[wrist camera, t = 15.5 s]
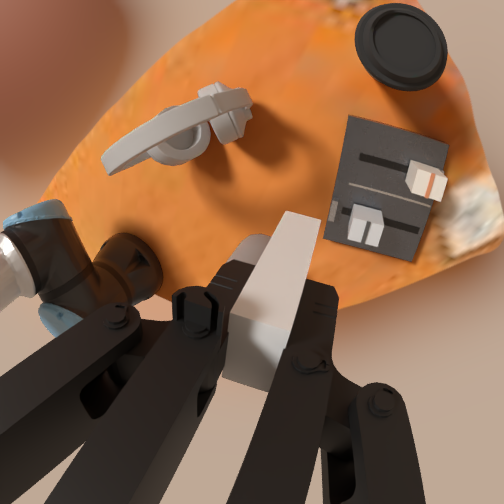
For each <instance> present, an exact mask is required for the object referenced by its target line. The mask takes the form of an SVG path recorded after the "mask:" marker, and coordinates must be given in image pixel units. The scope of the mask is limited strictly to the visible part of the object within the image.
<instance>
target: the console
mask: <svg viewBox="0 0 504 504" xmlns="http://www.w3.org/2000/svg"><path fill="white" fill-rule="evenodd" d="M448 148H449V145H448V144H446V143H445V142H442V141H439V140H436V139H433V138H430V137H427V136H424V135H421V134H418V133H415V132H412V131H408V130H405V129H402V128H398V127H395V126H392V125H388V124H384V123H381V122H377V121H373V120H369V119H365V118H361V117H357V116H353V115H348V121H347V127H346V132H345V138H344V143H343V148H342V153H341V158H340V163H339V168H338V173H337V178H336V183H335V187H334V192H333V197H332V201H331V206H330V210H329V215H328V219H327V223H326V227H325V232H324V236H323V239H327V240H331V241H335V242H339V243H343V244H347V245H351V246H354V247H358V248H362V249H366V250H370V251H374V252H377V253H381V254H385V255H389V256H392V257H396V258H400V259H403V260H407V261H411V262H412V259H413V257H414V254H415V252H416V249H417V247H418V244H419V241H420V239H421V236H422V233H423V230H424V228H425V225H426V222H427V219H428V216H429V213H430V210H431V207H432V204H433V201H434V200H433V199H430V198H425V197H424V196H421V195H417V194H414V193H411V191H410V189H409V187H408V185H407V184H406V182H405V180H406V176H407V172H408V168H409V164H410V160H413V161H417V162H420V163H423V164H426V165H429V166H432V167H435V168H438V169H439V170H440V171H441V172H442V173H443V174H444V171H443V167H444V164H445V160H446V156H447V152H448ZM354 204H357V205H361V206H365V207H369V208H372V209H376V210H380V211H382V217H383V222H384V228H383V231H382V234H381V238H380V241H379V244H378V247H375V246H372V245H368V244H361V243H360V242H356V241H353V240H349V239H348V226H349V220H350V216H351V212H352V208H353V205H354Z"/></svg>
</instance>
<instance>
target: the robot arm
mask: <svg viewBox="0 0 504 504" xmlns="http://www.w3.org/2000/svg"><path fill="white" fill-rule="evenodd" d="M72 221H73V220H72V218H71V217H70V216H69V214H68V212H67V210H66V208H65V206H64V204H63V203H62V202H61V201H60V200H57V199H51V200H47V201H44V202H41V203H38V204H36V205H33V206H31V207H28V208H26V209H24V210H22V211H21V212H18V213H16V214H14V215H12V216H10V217H8V218H7V219H5V220H4V221H3V229H4V231H3V232H1V233H0V312H1V311H2V310H3V309H4V308H5V307H7V306H8V305H9V304H10V303H11V302H12V301H14V300H15V299H16V298H18V297H19V296H25V297H29V298H32V297H34V296H35V295H36V294H37V293H38V295H39V296H40V298H41V300H42V301H43V303H42V304H41V305H40V308H39V310H38V313H39V316H40V319H41V321H42V323H43V324H44V325H45V327H46V328H47V329H48V330H49V331H50V333H51V334H52V335H53V336H55V339H53V340H52V341H50V342H49V343H47V344H46V345H45V346H43V347H42V348H40V349H39V350H38V351H36V352H34V353H33V354H32V355H30V356H29V357H27V358H26V359H25V360H23V361H22V362H20V363H19V364H17V365H16V366H15V367H13V368H12V369H10V370H9V371H8V372H6V373H5V374H4V375H2V376H1V377H0V504H11V503H12V502H14V501H15V500H16V499H17V498H19V497H20V496H21V495H22V494H23V493H25V492H26V491H27V490H28V489H30V488H31V487H32V486H33V485H34V484H36V483H37V482H38V481H39V480H41V479H42V478H43V477H44V476H45V475H46V474H48V473H49V472H50V471H51V470H53V469H54V468H55V467H56V466H57V465H58V464H60V463H61V462H62V461H63V460H64V459H66V458H67V457H68V456H69V455H70V454H72V453H73V452H74V451H75V450H76V449H77V448H78V447H80V446H81V445H82V444H83V443H84V442H85V441H86V442H85V443H84V445H83V446H82V448H81V449H80V451H79V452H78V454H77V455H76V456H75V458H74V459H73V461H72V462H71V464H70V465H69V467H68V468H67V470H66V471H65V473H64V474H63V476H62V477H61V479H60V480H59V482H58V483H57V485H56V486H55V488H54V489H53V491H52V492H51V494H50V495H49V497H48V498H47V500H46V501H45V503H44V504H159V503H160V501H161V499H162V497H163V495H164V493H165V491H166V490H167V488H168V485H169V484H170V482H171V480H172V478H173V476H174V474H175V472H176V470H177V468H178V466H179V464H180V462H181V460H182V458H183V456H184V454H185V452H186V450H187V448H188V446H189V444H190V442H191V440H192V438H193V436H194V434H195V432H196V430H197V428H198V426H199V424H200V422H201V420H202V418H203V416H204V414H205V412H206V410H207V408H208V406H209V404H210V402H211V400H212V398H213V396H214V394H215V391H216V386H217V380H218V378H219V376H220V374H221V372H222V370H223V372H222V377H223V378H226V379H229V380H232V381H235V382H237V383H241V384H244V385H247V386H250V387H253V388H256V389H259V390H262V391H266V392H269V393H268V395H267V399H266V401H265V404H264V407H263V410H262V412H261V415H260V418H259V421H258V424H257V426H256V429H255V432H254V434H253V437H252V440H251V442H250V445H249V448H248V450H247V453H246V455H245V458H244V461H243V463H242V466H241V468H240V471H239V474H238V476H237V479H236V481H235V484H234V486H233V489H232V491H231V493H230V496H229V498H228V500H227V503H226V504H305V501H306V497H307V493H308V489H309V486H310V482H311V477H312V474H313V470H314V466H315V461H316V457H317V453H318V448H319V447H320V448H321V464H322V488H323V504H426V502H425V496H424V490H423V484H422V478H421V473H420V467H419V463H418V458H417V453H416V448H415V443H414V439H413V434H412V430H411V426H410V422H409V418H408V414H407V410H406V406H405V403H404V401H403V398H402V396H401V395H400V394H399V393H398V392H397V391H396V390H395V389H394V388H392V387H391V386H389V385H387V384H383V383H378V382H376V383H371V384H367V385H366V386H364V387H360V386H358V385H357V384H355V383H353V382H351V381H349V380H348V379H346V378H345V377H343V376H342V375H341V374H340V373H339V372H338V371H337V369H336V368H335V366H334V365H333V361H332V346H333V339H334V332H335V325H336V317H337V309H338V302H339V297H338V294H337V292H336V290H335V288H334V287H333V286H330V285H326V284H323V283H319V282H316V281H312V280H309V279H306V277H307V273H308V269H309V266H310V262H311V258H312V254H313V250H314V247H315V243H316V239H317V235H318V231H319V227H320V223H321V220H319V219H316V218H312V217H308V216H305V215H301V214H297V213H293V212H290V211H285V213H284V215H283V217H282V219H281V220H280V222H279V224H278V226H277V228H276V230H275V231H274V233H273V235H272V237H271V239H270V241H269V242H268V244H267V246H266V248H265V250H264V252H263V253H262V255H261V257H260V259H259V261H258V262H257V264H256V265H252V264H249V263H246V262H242V261H239V260H235V259H233V260H231V261H229V262H227V263H225V264H224V265H222V266H221V268H220V269H219V271H218V272H217V273H216V276H214V278H213V279H212V280H211V283H209V285H208V286H207V287H201V286H189V287H185V288H182V289H179V290H178V291H176V292H175V293H174V294H173V295H172V314H173V320H171V321H154V320H146V319H141V317H140V313H139V311H138V310H137V309H136V308H135V307H134V305H136V304H138V303H140V302H141V301H143V300H147V299H149V298H151V297H152V296H153V295H154V294H155V293H156V292H157V291H158V290H159V288H160V287H161V284H162V279H163V275H162V269H161V266H160V263H159V261H158V259H157V257H156V255H155V254H154V252H153V251H152V250H151V249H150V247H149V246H148V245H147V244H146V243H144V242H143V241H142V240H141V239H139V238H138V237H136V236H134V235H131V234H128V233H117V234H115V235H113V236H112V237H110V238H109V239H108V240H106V241H105V242H104V244H103V245H102V247H101V249H100V251H99V252H98V254H97V255H96V257H95V259H94V260H93V262H91V260H90V258H89V256H88V254H87V252H86V250H85V248H84V246H83V244H82V242H81V239H80V237H79V235H78V233H77V231H76V229H75V227H74V225H73V222H72Z"/></svg>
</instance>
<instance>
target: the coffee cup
mask: <svg viewBox="0 0 504 504" xmlns="http://www.w3.org/2000/svg"><path fill="white" fill-rule="evenodd" d="M355 47H356V51H357V54H358V57H359V59H360V61H361V62H362V64H363V66H364V68H365V69H366V71H367V72H368V73H369V74H370V75H371V76H372V77H373V78H374V79H376V80H377V81H379V82H381V83H383V84H385V85H386V86H389V87H391V88H394V89H397V90H402V91H418V90H422V89H425V88H427V87H429V86H431V85H432V84H434V83H435V82H436V81H437V80H438V79H439V78H440V77H441V75H442V73H443V71H444V69H445V66H446V61H447V54H448V51H447V44H446V40H445V37H444V34H443V32H442V30H441V29H440V27H439V26H438V24H437V23H436V22H435V21H434V20H433V19H432V18H431V17H430V16H429V15H428V14H426V13H425V12H423V11H422V10H420V9H418V8H416V7H413V6H411V5H407V4H401V3H390V4H384V5H380V6H377V7H375V8H373V9H371V10H369V11H368V12H367V13H366V14H364V16H363V17H362V18H361V19H360V21H359V23H358V25H357V28H356V31H355Z"/></svg>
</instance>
